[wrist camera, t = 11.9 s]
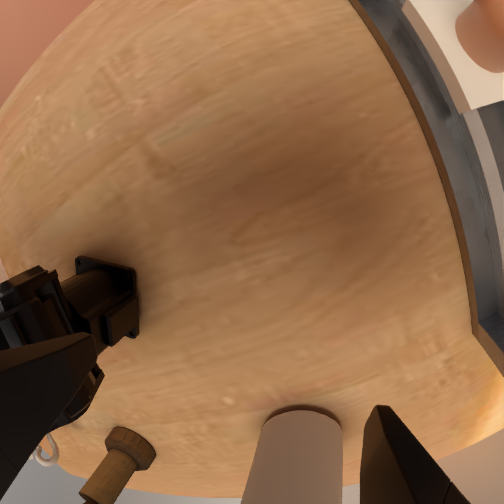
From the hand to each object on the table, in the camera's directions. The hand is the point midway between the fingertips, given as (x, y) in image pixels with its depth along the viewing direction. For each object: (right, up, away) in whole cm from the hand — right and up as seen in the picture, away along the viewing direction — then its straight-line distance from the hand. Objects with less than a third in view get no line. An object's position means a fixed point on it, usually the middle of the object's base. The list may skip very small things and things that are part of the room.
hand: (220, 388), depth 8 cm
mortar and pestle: (-14, -21, +23) cm, 34 cm away
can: (+6, -13, +16) cm, 22 cm away
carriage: (+14, +16, +3) cm, 21 cm away
